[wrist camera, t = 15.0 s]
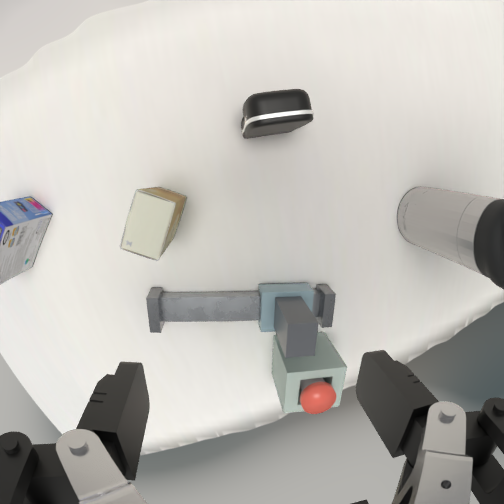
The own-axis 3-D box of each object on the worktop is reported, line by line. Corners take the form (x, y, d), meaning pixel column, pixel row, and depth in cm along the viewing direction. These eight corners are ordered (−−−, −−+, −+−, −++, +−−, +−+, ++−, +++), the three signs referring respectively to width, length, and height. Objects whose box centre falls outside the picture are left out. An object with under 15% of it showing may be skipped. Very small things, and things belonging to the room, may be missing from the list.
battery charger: (288, 105, 40) (312, 83, 29) (293, 132, 40) (319, 118, 29) (236, 112, 39) (243, 90, 28) (241, 139, 40) (250, 127, 29)
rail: (326, 284, 46) (335, 293, 42) (323, 315, 47) (331, 326, 44) (151, 287, 44) (146, 298, 40) (155, 319, 45) (150, 332, 41)
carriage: (307, 282, 46) (333, 315, 35) (304, 319, 47) (327, 359, 36) (258, 284, 45) (272, 319, 34) (258, 321, 46) (270, 363, 35)
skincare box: (173, 239, 42) (158, 265, 31) (143, 229, 42) (117, 251, 30) (188, 193, 41) (177, 202, 29) (157, 183, 40) (135, 188, 28)
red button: (316, 345, 46) (339, 384, 37) (313, 370, 48) (333, 411, 38) (287, 347, 46) (303, 389, 36) (285, 372, 47) (300, 415, 37)
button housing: (324, 332, 48) (347, 366, 39) (319, 369, 50) (338, 407, 40) (273, 335, 47) (287, 373, 38) (271, 373, 49) (283, 414, 39)
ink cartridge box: (28, 193, 38) (-33, 206, 24) (54, 212, 39) (-4, 230, 25) (8, 249, 40) (-48, 277, 26) (32, 267, 41) (-21, 302, 27)
